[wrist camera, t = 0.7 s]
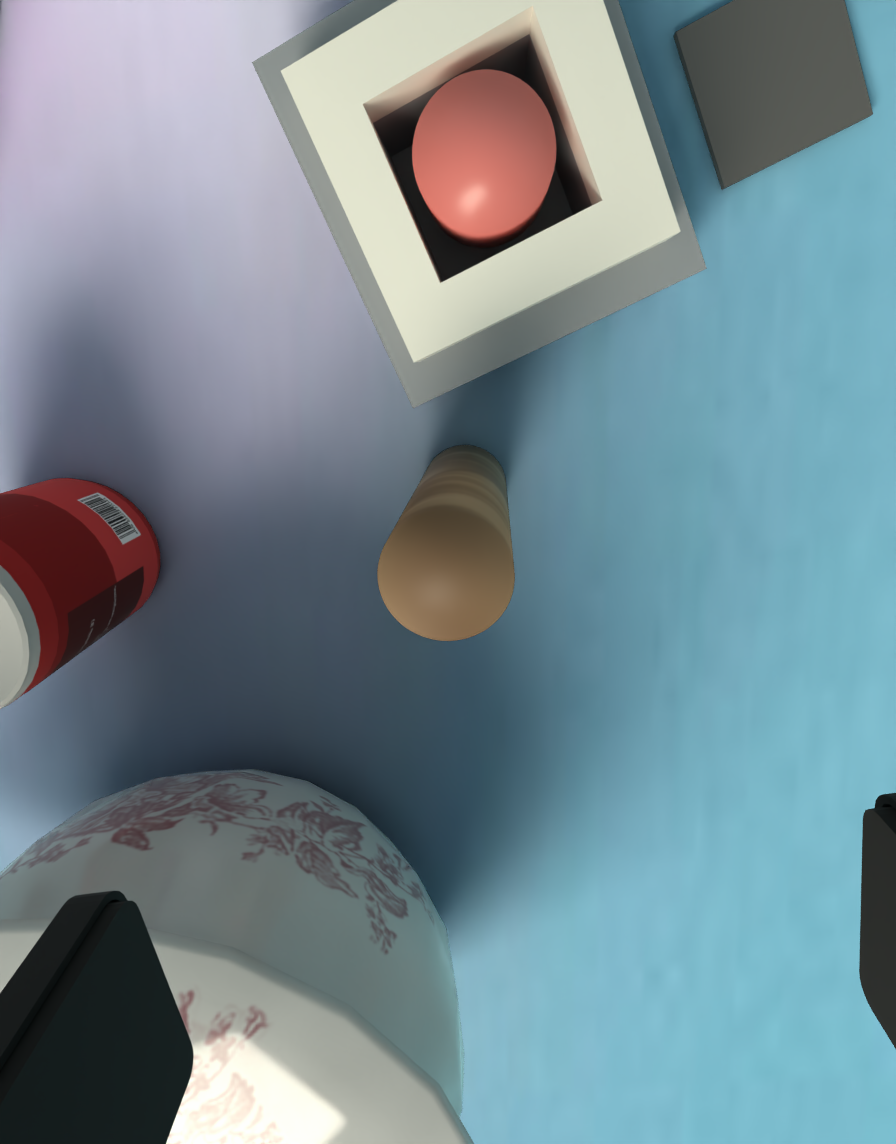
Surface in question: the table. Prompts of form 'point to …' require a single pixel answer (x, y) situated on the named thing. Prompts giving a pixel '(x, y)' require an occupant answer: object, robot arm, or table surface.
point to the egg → (484, 157)
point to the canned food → (66, 574)
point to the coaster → (771, 80)
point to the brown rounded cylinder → (451, 549)
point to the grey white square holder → (401, 217)
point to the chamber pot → (270, 955)
